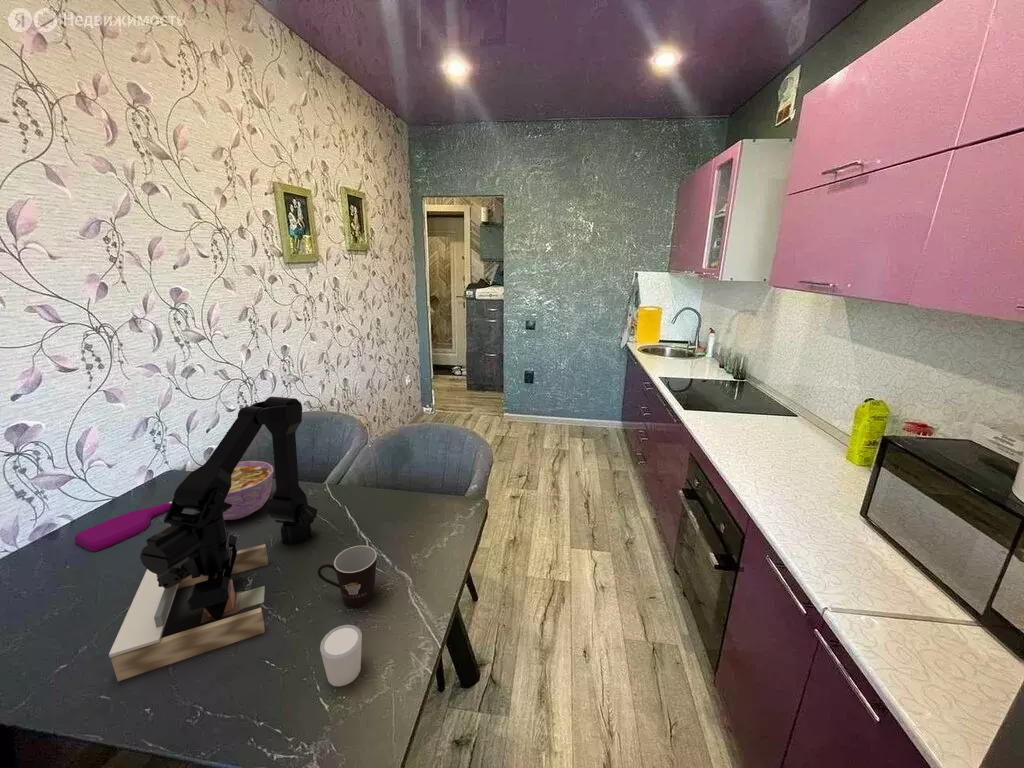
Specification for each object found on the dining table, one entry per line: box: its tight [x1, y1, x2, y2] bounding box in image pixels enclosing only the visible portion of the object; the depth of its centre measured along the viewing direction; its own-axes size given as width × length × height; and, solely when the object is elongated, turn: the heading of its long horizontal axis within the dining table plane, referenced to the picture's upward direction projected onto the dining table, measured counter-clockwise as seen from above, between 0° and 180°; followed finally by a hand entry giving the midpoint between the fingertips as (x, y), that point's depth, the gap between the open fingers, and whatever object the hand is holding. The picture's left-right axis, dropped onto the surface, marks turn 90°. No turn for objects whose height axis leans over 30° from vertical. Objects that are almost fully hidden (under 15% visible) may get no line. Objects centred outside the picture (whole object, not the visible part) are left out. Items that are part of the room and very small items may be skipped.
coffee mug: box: [317, 545, 378, 609], centre depth 89 cm, size 12×9×10 cm
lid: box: [108, 568, 179, 658], centre depth 78 cm, size 6×22×3 cm, turn 29°
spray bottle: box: [74, 501, 172, 553], centre depth 112 cm, size 3×11×24 cm
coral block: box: [207, 579, 236, 617], centre depth 84 cm, size 4×4×4 cm
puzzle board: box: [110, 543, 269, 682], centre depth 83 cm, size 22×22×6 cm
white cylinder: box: [319, 624, 363, 687], centre depth 72 cm, size 7×7×7 cm
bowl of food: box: [223, 460, 274, 521], centre depth 117 cm, size 20×20×12 cm
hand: (221, 602), depth 84 cm, fingers open, 9 cm apart
